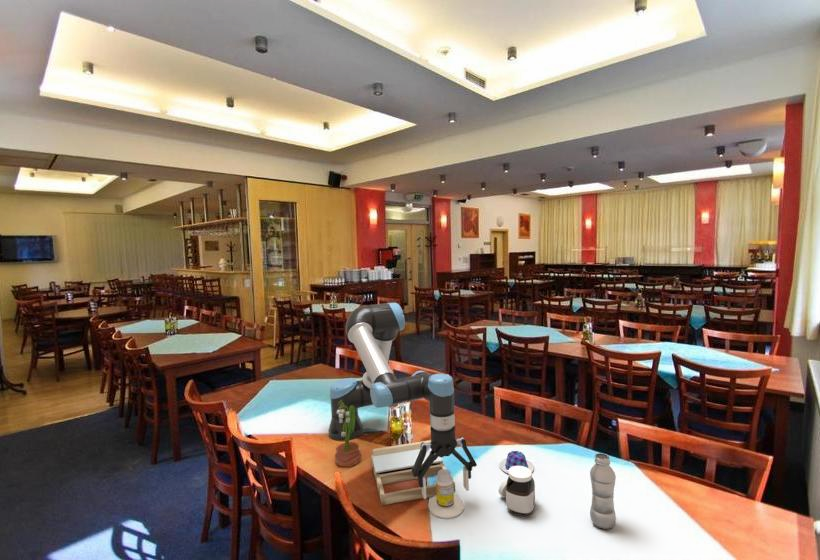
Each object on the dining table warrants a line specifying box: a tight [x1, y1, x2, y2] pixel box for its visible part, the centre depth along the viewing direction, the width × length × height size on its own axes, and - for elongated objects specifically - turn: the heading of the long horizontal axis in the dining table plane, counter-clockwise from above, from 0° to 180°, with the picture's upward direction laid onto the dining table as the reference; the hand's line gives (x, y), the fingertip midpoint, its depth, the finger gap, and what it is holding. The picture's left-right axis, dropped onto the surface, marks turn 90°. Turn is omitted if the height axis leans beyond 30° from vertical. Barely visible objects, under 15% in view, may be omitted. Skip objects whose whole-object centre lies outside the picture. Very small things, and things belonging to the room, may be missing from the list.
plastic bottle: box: [589, 452, 617, 530], centre depth 113 cm, size 6×7×20 cm
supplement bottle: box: [435, 468, 455, 509], centre depth 124 cm, size 6×6×10 cm
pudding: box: [499, 450, 535, 475], centre depth 145 cm, size 12×12×5 cm
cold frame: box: [370, 456, 456, 506], centre depth 142 cm, size 26×24×3 cm
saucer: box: [428, 494, 465, 520], centre depth 124 cm, size 11×11×1 cm
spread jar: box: [498, 466, 536, 516], centre depth 124 cm, size 12×11×12 cm
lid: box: [370, 439, 444, 474], centre depth 148 cm, size 12×24×3 cm, turn 103°
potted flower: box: [334, 400, 362, 467], centre depth 153 cm, size 12×10×25 cm
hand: (445, 492), depth 124 cm, fingers open, 13 cm apart
